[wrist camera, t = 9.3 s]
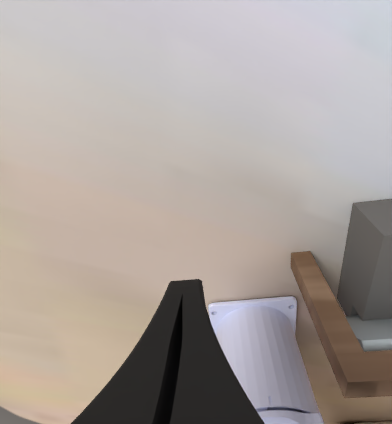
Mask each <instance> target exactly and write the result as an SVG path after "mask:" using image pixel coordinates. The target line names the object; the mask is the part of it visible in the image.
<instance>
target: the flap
mask: <svg viewBox="0 0 392 424" xmlns="http://www.w3.org/2000/svg"><path fill="white" fill-rule="evenodd" d="M345 317H346V319H347V321H348V323H349V325H350V327H351V328H352V330H353V332H354V334H355V336H356V338H357V340H358V342H359V343H360V345H361V347H362V349H363V351H364V352H367V351H383V350H392V319H380V320H367V321H362V320H361V318H360V317H359V315H356V316H345Z"/></svg>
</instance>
